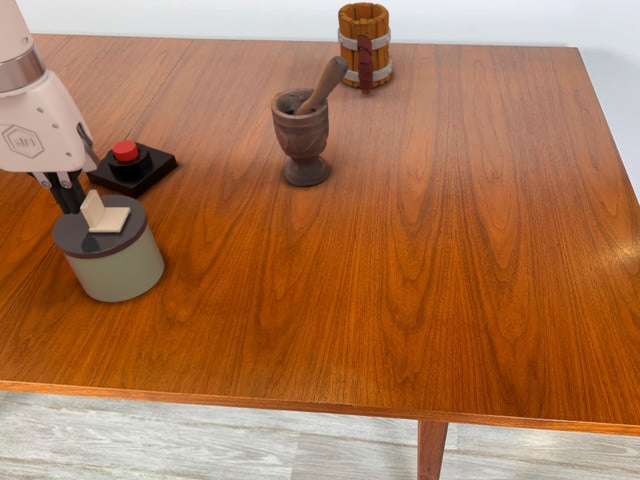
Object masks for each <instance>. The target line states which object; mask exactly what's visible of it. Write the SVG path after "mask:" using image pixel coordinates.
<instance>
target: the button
mask: <svg viewBox="0 0 640 480" xmlns="http://www.w3.org/2000/svg"><path fill="white" fill-rule="evenodd" d="M134 142H135V141H134V140H130V141H129V139H128V140H127V139H126V140H121V141H118V142H116V143H115V144H113V146H112V148H111V149H112V150H113V152H114V155H115V157H116V159H117V160H118V161H129V160H132V159H135V158H136V157H137V156H138V155H139V152H138V149H137V147H136V144H135V143H134Z"/></svg>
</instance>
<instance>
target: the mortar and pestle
mask: <svg viewBox="0 0 640 480" xmlns="http://www.w3.org/2000/svg"><path fill="white" fill-rule="evenodd" d="M347 71H348V63H347V61H346V60H345V59H344V58H342V57H341V55H335V56H334V57H332V58H331V59H330V60H329V61H328V63H327V64H326V66H325V68H324V70H323V72H322V74H321V75H320V78H319V80H318V82H317V85H316V86H315V88H308V87H296V88H295V87H294V88H290V89H286V90H283V91H278V92H277V93H276V94H275V95H274V96H273V97H272V99H271V101H270V111H271V114H272V121H273V123H272V124H273V127H274V133H275V136H276V139H277V142H278V145H279V146H280V149H281V150H282V152H283V153H284V154H285V155H286V156H288V157H290V158H289V159H288V160H287V161H286V163H285V166H284V172H283V173H284V177H285V179H286V181H287V182H288V183H290V184H291V185H294V186H298V187H310V186H315V185H317V184H320V183H321V182H323V181H324V180H325V179H327V178H328V176H329V174H330V169H329V165H328V163H327V161H326V160H325V158H323V157H322V156H321V154H322V153H324V151H325V149H326V147H327V144H328V142H327V141H328V138H329V135H330V118H329V100H328V98H329V96H330V95H331V94H332V92H333V91H334V90H335V88H337V87H338V85H339V84H340V83H341V82H342V79H343V78H344V76H345V75H346V73H347Z"/></svg>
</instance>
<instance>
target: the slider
mask: <svg viewBox="0 0 640 480" xmlns="http://www.w3.org/2000/svg"><path fill="white" fill-rule="evenodd" d="M80 209H81V211H82V213H83V215H84V217H85V219H86V221H87V223H88V225H89V227H90V229H89V232H120V231H121V229H122V226H123V224H124V222H125V220H126V218H127V216H128V214H129V212H130V208H129V207H104V206H103V203H102V201H101V199H100V194H99V193H98V190H97V189H90V190H89V191H88V193H87V195H86V198H85V200H84V202H83V203H82V205H81V207H80Z"/></svg>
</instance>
